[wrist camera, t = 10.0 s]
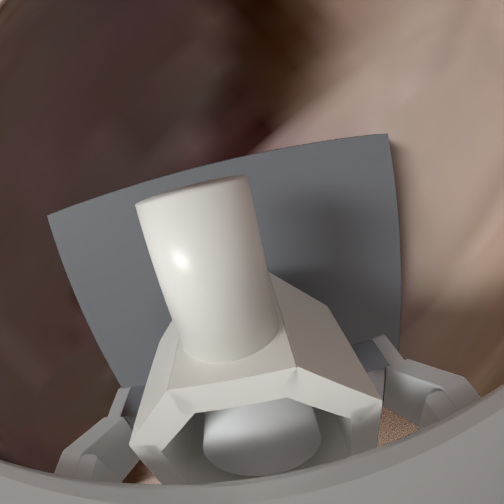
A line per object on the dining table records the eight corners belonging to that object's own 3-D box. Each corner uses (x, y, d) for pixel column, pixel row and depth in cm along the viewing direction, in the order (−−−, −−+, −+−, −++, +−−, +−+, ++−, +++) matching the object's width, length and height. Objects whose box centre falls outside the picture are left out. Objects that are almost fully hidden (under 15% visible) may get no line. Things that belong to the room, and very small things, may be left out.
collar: (334, 390, 12) (371, 479, 8) (195, 418, 12) (189, 510, 8) (304, 155, 9) (375, 161, 4) (111, 203, 9) (22, 249, 5)
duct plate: (163, 427, 16) (146, 528, 9) (63, 208, 12) (-54, 266, 5) (384, 381, 16) (437, 473, 9) (371, 134, 12) (501, 132, 5)
